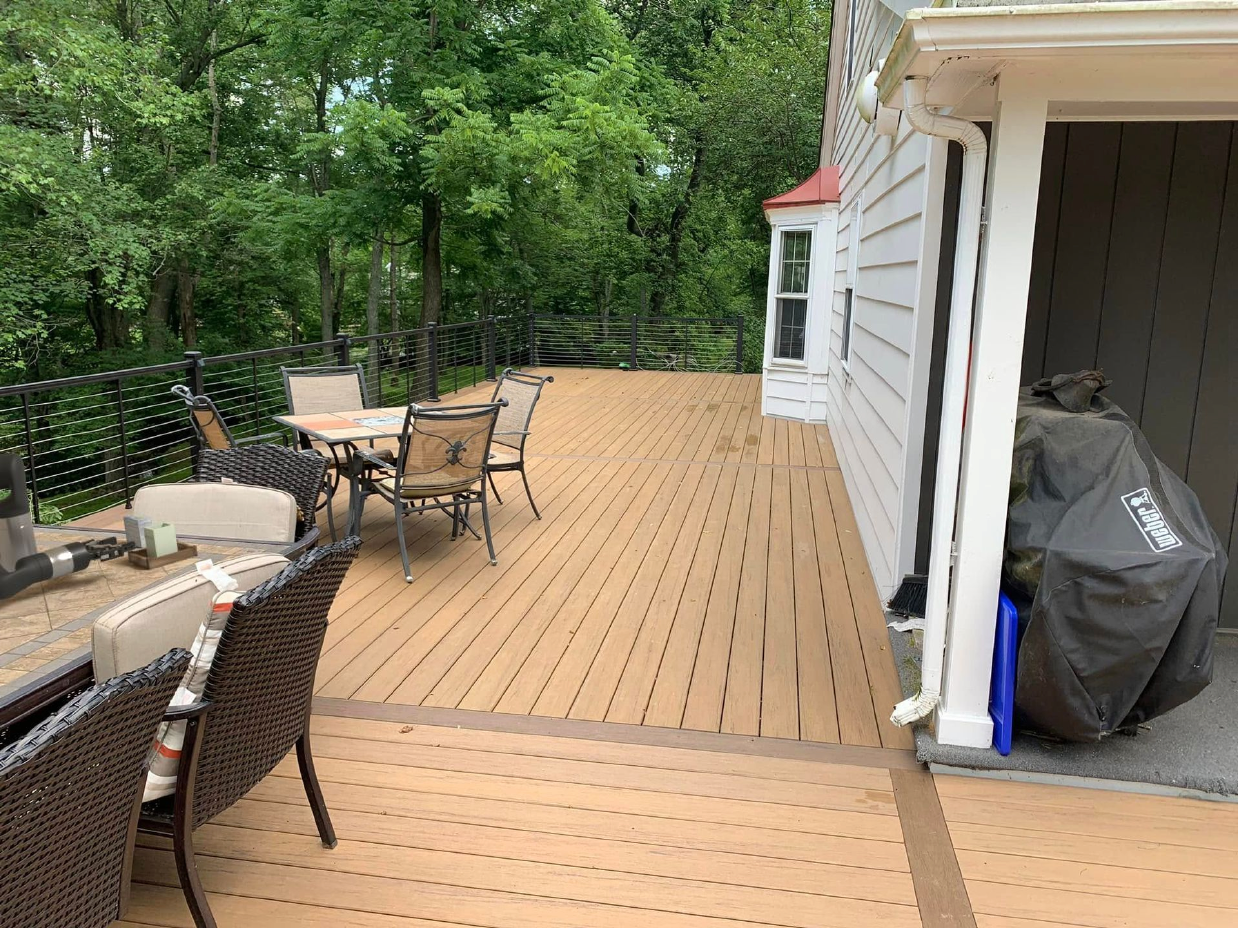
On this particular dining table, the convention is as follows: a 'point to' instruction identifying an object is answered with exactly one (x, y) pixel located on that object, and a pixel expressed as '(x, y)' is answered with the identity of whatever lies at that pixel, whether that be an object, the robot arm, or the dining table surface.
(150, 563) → the walnut crate
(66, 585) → the dining table surface
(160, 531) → the small square vase
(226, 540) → the dining table surface
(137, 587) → the dining table surface
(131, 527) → the medicine box
